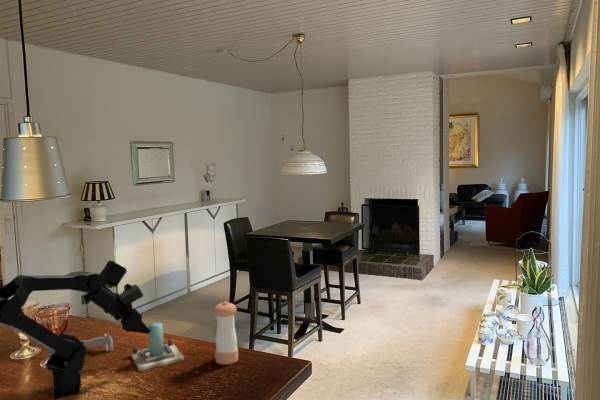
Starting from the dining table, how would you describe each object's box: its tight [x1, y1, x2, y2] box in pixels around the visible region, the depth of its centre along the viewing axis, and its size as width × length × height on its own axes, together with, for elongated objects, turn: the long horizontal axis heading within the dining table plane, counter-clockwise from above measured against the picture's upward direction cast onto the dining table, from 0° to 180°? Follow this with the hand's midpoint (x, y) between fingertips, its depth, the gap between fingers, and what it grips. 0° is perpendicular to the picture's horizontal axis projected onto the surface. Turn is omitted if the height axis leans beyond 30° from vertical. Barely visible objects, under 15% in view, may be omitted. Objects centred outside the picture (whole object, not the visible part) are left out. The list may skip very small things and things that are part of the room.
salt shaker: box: [213, 300, 239, 365], centre depth 149 cm, size 7×7×19 cm
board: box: [130, 337, 185, 372], centre depth 152 cm, size 14×13×3 cm
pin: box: [147, 322, 164, 358], centre depth 151 cm, size 4×4×10 cm
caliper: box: [81, 332, 114, 352], centre depth 159 cm, size 20×1×6 cm, turn 79°
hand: (145, 327), depth 149 cm, fingers open, 9 cm apart
